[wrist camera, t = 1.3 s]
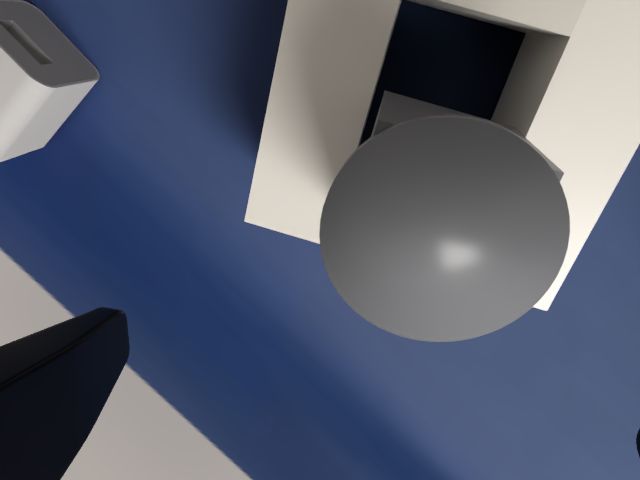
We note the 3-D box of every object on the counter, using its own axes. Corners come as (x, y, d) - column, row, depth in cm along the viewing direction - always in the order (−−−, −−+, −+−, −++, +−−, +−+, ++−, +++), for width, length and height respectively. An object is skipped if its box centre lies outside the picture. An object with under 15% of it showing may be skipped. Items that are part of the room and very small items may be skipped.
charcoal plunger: (542, 112, 14) (619, 161, 9) (474, 263, 16) (506, 368, 11) (371, 64, 14) (355, 86, 9) (327, 220, 16) (296, 304, 12)
